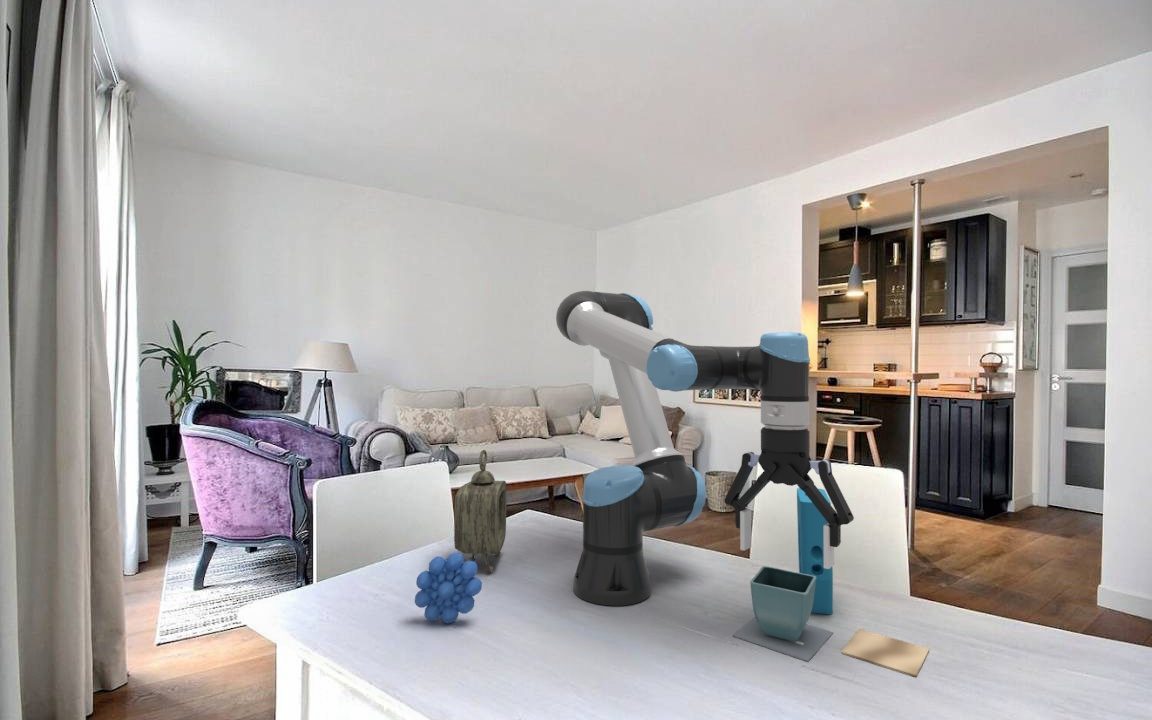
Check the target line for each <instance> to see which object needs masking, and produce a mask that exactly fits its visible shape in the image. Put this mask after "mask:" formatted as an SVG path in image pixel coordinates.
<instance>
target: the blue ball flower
mask: <svg viewBox="0 0 1152 720" xmlns="http://www.w3.org/2000/svg"><path fill="white" fill-rule="evenodd" d="M463 556H464V555H462V554H461V552H452V553H451V554H449V555H448V556H447V558H446V559H445V557H443V556H437V555H436V556H435V557H434V558H432V559H431V560H430V561H429V563H428V570H424V571H422V572H420V573H419V574H418V575H417V577H416V581H415V583H416V586H417V588H418V589H420V590H419V591H417V593H416V594H415V596H414V604H415V605H416V606H417V607H418V608H422V609H423V608H424V618H425V619H426V620H427V621H429V622H435V621H436V620H437V619H439V618H441V621H442V622H443V623H445V624H452V623H453V622H455V621H456V620H457V619H458V617H459V613H460V614H463V615H464V614H468V613H470V612H471V611H472V610H473V609H474V607H475V598H474V597H475V596H476V595H478V594H479V593H480V592H481V590H482V586H483V582H482V580H481V579H480V578H479V577H475V576H476V575H477V573H478V567H479V566H478V564H477V562H474V561H468V560H467V561H465V562H464V557H463Z"/></svg>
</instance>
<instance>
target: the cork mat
mask: <svg viewBox="0 0 1152 720" xmlns="http://www.w3.org/2000/svg"><path fill="white" fill-rule="evenodd" d="M929 652H930V647H929V648H927V647H924V646H920V645H917V644H914V643H911V642H908V641H904V640H900V639H897V638H893V637H890V636H887V635H883V634H880V633H876V632H872V631H869V630H865V629H861V628H859V629H858V630H857V632H856V633H854V635H853V636H852V638H851V639H850V640H849V641H848V643H847V644H846V645H845V646H844V648H843V649H842V650H841V654H843V655H845V656H848V657H851V658H855V659H858V660H860V661H861V660H862V661H864V662H867V663H870V664H873V665H877V666H879V667H883V668H886V669H889V670H892V671H895V672H898V673H900V674H901V673H902V674H904V675H907V676H911V677H914V678H917V677H918V675H919V673H920V671H921V668H922V667H923V664H924V663H925V661H926V658H927V656H928V654H929Z"/></svg>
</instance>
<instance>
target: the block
mask: <svg viewBox="0 0 1152 720" xmlns="http://www.w3.org/2000/svg"><path fill="white" fill-rule="evenodd" d="M818 490H819V491H820V492H821V493H822V495H823V496H824V497H825V499H826V500H827V501H828V502H829V504H830V505H831V506H832V502H831V500H830V498H829V496H828V494H827V491H826V489H825V488H824V489H823V488H818ZM796 508H797V509H796V511H797V512H796V514H797V546H798V547H797V549H798V550H797V551H798V555H797V556H798V573H803V574H808V575H812V576H816V585H815V593H814V601H813V607H812V611H811V613H814V614H815V613H816V614H822V615H831V614H833V613H834V612H833V607H834V606H833V601H834V599H833V597H834V595H833V593H834V591H833V589H834V587H833V586H834V583H833V582H834V581H833V580H834V579H833V578H834V576H833V575H834V574H833V572H834V571H833V566H832V567H831V568H830V569H825V568H824V533H823V526H824V525H825V524H827V523H828V522H827V521H826V520H825V518H824V517H823V516H822V514H821V513H820V512H819V510H818V509H817V508H816V507H815V505H814V504H813V503H812V501H811V500H810V499H809V498H808V496H807V495H806V494H805V492H804V491H803V490H801V489H800V488H799V487H797V488H796Z"/></svg>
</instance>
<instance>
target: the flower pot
mask: <svg viewBox="0 0 1152 720" xmlns="http://www.w3.org/2000/svg"><path fill="white" fill-rule="evenodd" d="M749 585H750V593H751V601H752V609H753V613H754V617H756V620H757V622H758V624H759V626H760V628H761V629H762V631H763V632H764V634H766V635H770V636H774V637H778V638H781V639H785V640H789V641H793V642H796V641H797V640H798V639H799V637H800V636H801V634H802V631H803V629H804V627H805V625H806V624H807V623H808V621H809V618H810V616H811V613H812V612H811V611H812V607H813V601H814V593H815V585H816V576H812V575H808V574H803V573H799V572H796V571H792V570H786V569H783V568H777V567H772V566H767V565H766V566H765V565H762V566H761V568H760V569H759V570H758V571H757V573H756V574H755V575H754V576H753V578H752V579H751V580H750V582H749Z"/></svg>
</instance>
